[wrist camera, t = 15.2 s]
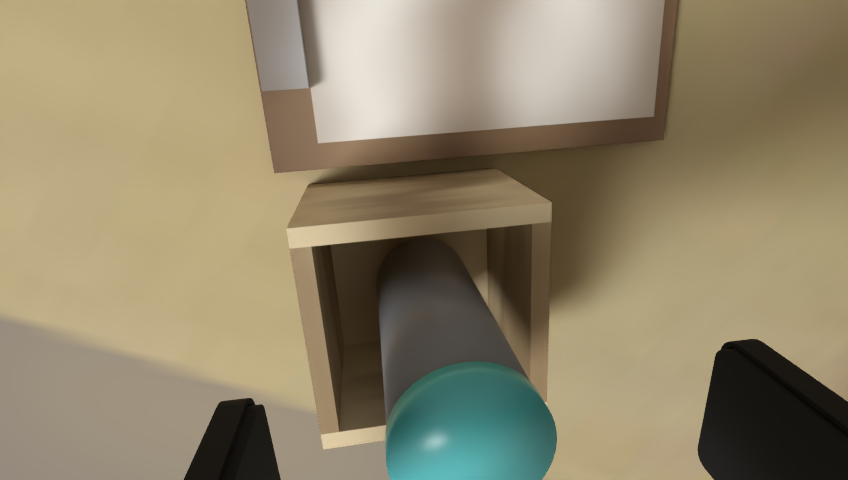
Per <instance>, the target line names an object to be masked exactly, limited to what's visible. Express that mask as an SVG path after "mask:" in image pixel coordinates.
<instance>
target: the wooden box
mask: <svg viewBox="0 0 848 480" xmlns="http://www.w3.org/2000/svg"><path fill="white" fill-rule="evenodd" d="M551 221H552V202H550V201H549V200H547V199H545V198H544V197H542V196H540V195H539V194H537V193H536V192H534V191H532V190H531V189H529V188H527V187H526V186H524V185H522V184H521V183H519V182H517V181H516V180H514V179H513V178H511V177H509V176H508V175H506V174H504V173H503V172H501V171H499V170H498V169H496V168H493V169H481V170H470V171H459V172H448V173H436V174H425V175H414V176H403V177H391V178H380V179H369V180H358V181H346V182H335V183H324V184H312V185H308V186H307V188H306V190H305V192H304V194H303V196H302V198H301V200H300V202H299V204H298V206H297V208H296V210H295V212H294V214H293V216H292V218H291V220H290V222H289V224H288V226H287V228H286V230H287V236H288V242H289V248H290V254H291V260H292V266H293V272H294V278H295V283H296V289H297V295H298V301H299V307H300V313H301V319H302V325H303V331H304V337H305V343H306V349H307V355H308V361H309V367H310V373H311V379H312V385H313V391H314V397H315V403H316V409H317V415H318V421H319V426H320V432H321V438H322V444H323V449H328V448H335V447H341V446H349V445H355V444H361V443H369V442H376V441H382V440H385V432H386V413H385V398H384V383H383V368H382V354H381V339H380V324H379V309H378V294H377V275H378V271H379V268H380V265H381V263H382V262H383V260H384V258H385V257H386V256H387V255H388V254H389V253H390V252H391V251H392V250H393V249H394V248H395V247H397V246H398V245H400V244H402V243H404V242H407V241H410V240H413V239H421V238H427V239H434V240H438V241H440V242H443V243H445V244H447V245H448V246H450V247H451V248H452V249H453V250H455V251H456V252H457V254H458V255H459V256H460V258H461V260H462V261H463V263H464V265H465V267H466V268H467V270H468V272H469V274H470V276H471V277H472V279H473V281H474V283H475V284H476V286H477V288H478V290H479V292H480V293H481V295H482V297H483V299H484V300H485V302H486V304H487V306H488V307H489V309H490V311H491V313H492V315H493V316H494V318H495V320H496V322H497V323H498V325H499V327H500V329H501V331H502V332H503V334H504V336H505V338H506V339H507V341H508V343H509V345H510V347H511V348H512V350H513V352H514V354H515V355H516V357H517V359H518V361H519V363H520V364H521V366H522V368H523V370H524V371H525V373H526V375H527V377H528V378H529V380H530V382H531V383H532V384H533V385H534V386H535V387H536V389H537V390H538V392H539V394H540V395H541V397H542V399H543V400H544V402H545V404H546V406H547V370H548V333H549V295H550V258H551Z"/></svg>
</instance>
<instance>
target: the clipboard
mask: <svg viewBox="0 0 848 480" xmlns="http://www.w3.org/2000/svg"><path fill="white" fill-rule="evenodd" d="M245 3H246V9H247V14H248V20H249V26H250V32H251V38H252V44H253V50H254V56H255V62H256V68H257V73H258V79H259V85H260V91H261V97H262V103H263V109H264V115H265V121H266V127H267V132H268V138H269V144H270V150H271V156H272V162H273V168H274V173H281V172H293V171H305V170H316V169H328V168H340V167H351V166H363V165H375V164H386V163H398V162H410V161H421V160H433V159H445V158H457V157H468V156H480V155H492V154H503V153H515V152H527V151H538V150H550V149H562V148H574V147H585V146H597V145H609V144H620V143H632V142H644V141H655V140H663V139H664V130H665V120H666V110H667V100H668V91H669V81H670V71H671V61H672V52H673V42H674V32H675V22H676V13H677V3H678V0H245Z"/></svg>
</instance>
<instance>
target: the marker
mask: <svg viewBox="0 0 848 480" xmlns="http://www.w3.org/2000/svg"><path fill="white" fill-rule="evenodd" d="M377 294H378V309H379V324H380V339H381V354H382V368H383V383H384V398H385V413H386V432H385V446H386V463H387V469H388V474H389V477H390V480H542V478H543V477H544V476H545V474H546V472H547V471H548V469H549V467H550V465H551V463H552V460H553V458H554V454H555V450H556V443H557V433H556V427H555V422H554V420H553V417H552V415H551V413H550V411H549V409H548V407H547V406H546V404H545V402H544V400H543V399H542V397H541V395H540V394H539V392H538V390H537V389H536V387H535V386H534V385H533V384H532V383H531V382H530V380H529V378H528V377H527V375H526V373H525V371H524V370H523V368H522V366H521V364H520V363H519V361H518V359H517V357H516V355H515V354H514V352H513V350H512V348H511V347H510V345H509V343H508V341H507V339H506V338H505V336H504V334H503V332H502V331H501V329H500V327H499V325H498V323H497V322H496V320H495V318H494V316H493V315H492V313H491V311H490V309H489V307H488V306H487V304H486V302H485V300H484V299H483V297H482V295H481V293H480V292H479V290H478V288H477V286H476V284H475V283H474V281H473V279H472V277H471V276H470V274H469V272H468V270H467V268H466V267H465V265H464V263H463V261H462V260H461V258H460V256H459V255H458V254H457V252H456V251H455V250H453V249H452V248H451V247H450V246H448V245H447V244H445V243H443V242H440V241H438V240H434V239H427V238H421V239H413V240H410V241H407V242H404V243H402V244H400V245H398V246H397V247H395V248H394V249H393V250H392V251H391V252H390V253H389V254H388V255H387V256H386V257H385V258H384V260H383V262H382V263H381V265H380V268H379V271H378V275H377Z"/></svg>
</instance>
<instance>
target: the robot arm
mask: <svg viewBox="0 0 848 480" xmlns="http://www.w3.org/2000/svg"><path fill="white" fill-rule="evenodd" d="M698 456H699V459H700V461H701V463H702V465H703V466H704V468H705V469H706V470H707V472H708V473H709V474H710V475H711V476H712V478H713V479H714V480H848V402H847V401H846V400H844V399H843V398H842V397H840V396H839V395H837V394H836V393H834V392H833V391H832V390H830V389H829V388H827V387H826V386H824V385H823V384H822V383H820V382H819V381H817V380H816V379H814V378H813V377H812V376H810V375H809V374H807V373H806V372H804V371H803V370H802V369H800V368H799V367H797V366H796V365H794V364H793V363H792V362H790V361H789V360H787V359H786V358H785V357H783V356H782V355H780V354H779V353H777V352H776V351H775V350H773V349H772V348H770V347H769V346H767V345H766V344H765V343H763V342H761V341H759V340H757V339H748V340H740V341H731V342H727V343H725V344H724V345H723V346H722V348H721V350H720V351H718V352H717V353H716V356H715V361H714V366H713V371H712V376H711V381H710V387H709V392H708V397H707V402H706V408H705V413H704V418H703V423H702V428H701V434H700V439H699V444H698ZM184 480H281V479H280V475H279V471H278V466H277V462H276V457H275V453H274V448H273V444H272V439H271V435H270V430H269V426H268V422H267V417H266V413H265V409H264V406H263V405H255V403H254V401H253V399H251V398H246V399H237V400H229V401H222V402H220V403H219V404H218V406H217V408H216V410H215V412H214V414H213V416H212V419H211V421H210V423H209V425H208V427H207V430H206V432H205V434H204V436H203V438H202V441H201V443H200V445H199V447H198V450H197V452H196V454H195V456H194V458H193V460H192V463H191V465H190V467H189V469H188V471H187V474H186V476H185V478H184Z"/></svg>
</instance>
